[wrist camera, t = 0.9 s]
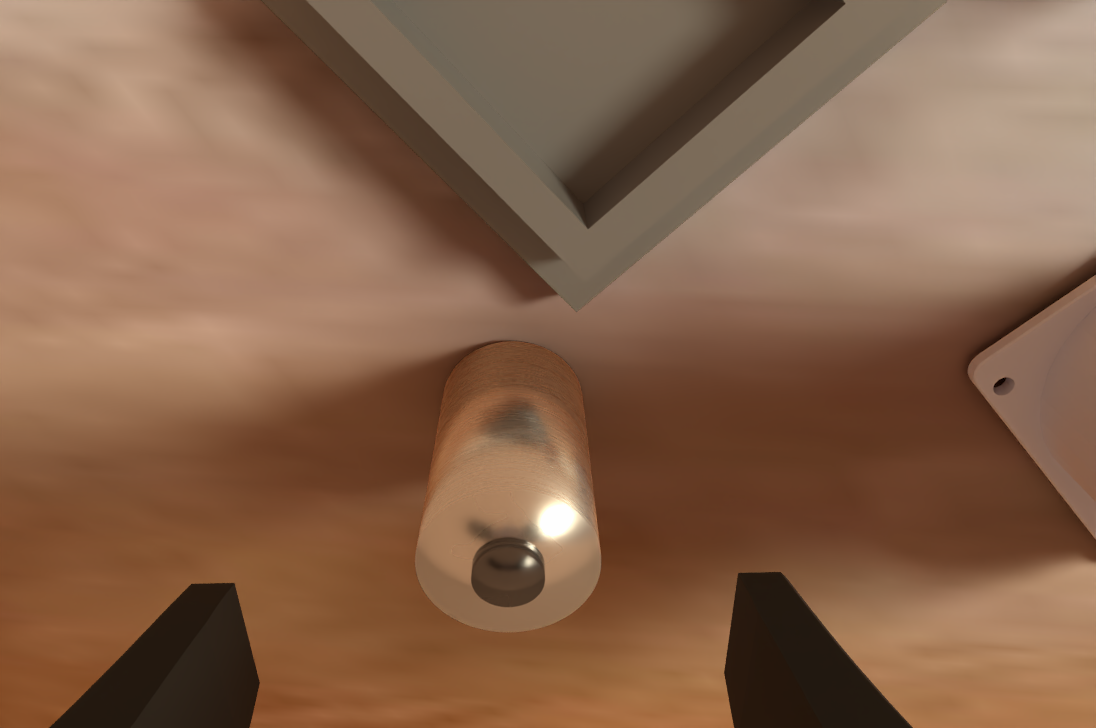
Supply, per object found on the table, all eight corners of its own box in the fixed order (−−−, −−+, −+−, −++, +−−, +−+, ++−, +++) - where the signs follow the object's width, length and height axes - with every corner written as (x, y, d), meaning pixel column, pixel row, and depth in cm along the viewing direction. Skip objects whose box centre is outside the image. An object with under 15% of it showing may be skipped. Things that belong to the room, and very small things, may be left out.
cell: (611, 405, 21) (642, 581, 16) (511, 483, 22) (506, 673, 17) (515, 313, 20) (510, 470, 14) (413, 401, 21) (372, 578, 15)
